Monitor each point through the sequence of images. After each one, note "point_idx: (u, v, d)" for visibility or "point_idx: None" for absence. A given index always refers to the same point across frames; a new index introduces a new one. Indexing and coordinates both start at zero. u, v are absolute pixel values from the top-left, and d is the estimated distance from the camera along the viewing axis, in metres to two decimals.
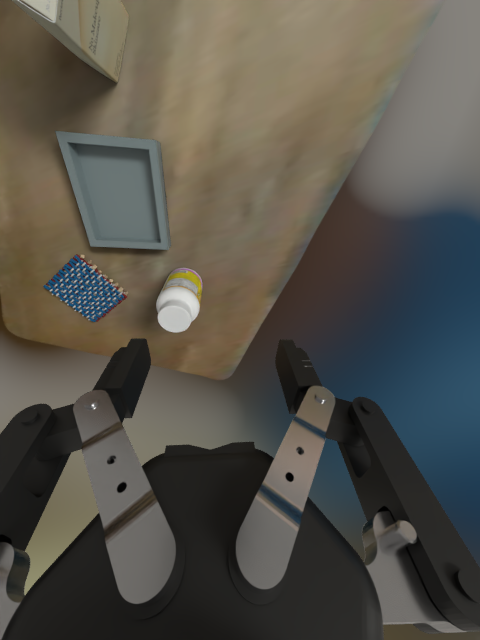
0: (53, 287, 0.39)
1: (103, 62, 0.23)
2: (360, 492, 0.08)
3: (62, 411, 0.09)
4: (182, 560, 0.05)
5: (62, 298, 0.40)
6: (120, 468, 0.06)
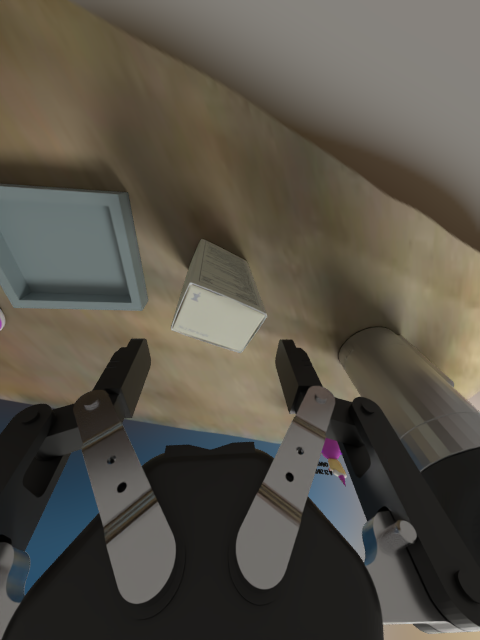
0: None
1: None
2: (360, 492, 0.08)
3: (62, 411, 0.09)
4: (182, 560, 0.05)
5: None
6: (120, 468, 0.06)
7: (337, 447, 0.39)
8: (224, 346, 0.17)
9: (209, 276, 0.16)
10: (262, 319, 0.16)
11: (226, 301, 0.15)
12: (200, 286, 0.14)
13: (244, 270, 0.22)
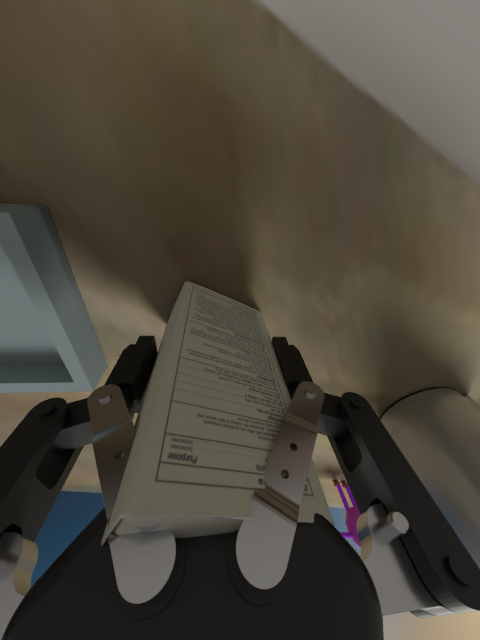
0: None
1: None
2: (352, 485, 0.09)
3: (76, 405, 0.09)
4: (182, 563, 0.05)
5: None
6: None
7: None
8: None
9: (190, 424, 0.07)
10: None
11: (234, 524, 0.05)
12: (156, 514, 0.05)
13: (260, 343, 0.12)
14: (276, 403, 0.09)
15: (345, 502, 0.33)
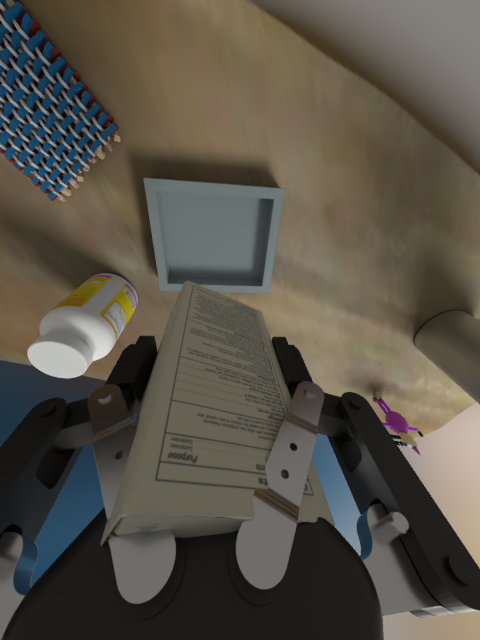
0: (11, 18, 0.16)
1: None
2: (352, 486, 0.09)
3: (76, 405, 0.09)
4: (182, 564, 0.05)
5: None
6: None
7: (406, 422, 0.43)
8: None
9: (190, 423, 0.07)
10: None
11: (234, 523, 0.05)
12: (155, 513, 0.05)
13: (261, 343, 0.12)
14: (276, 403, 0.09)
15: (384, 409, 0.46)
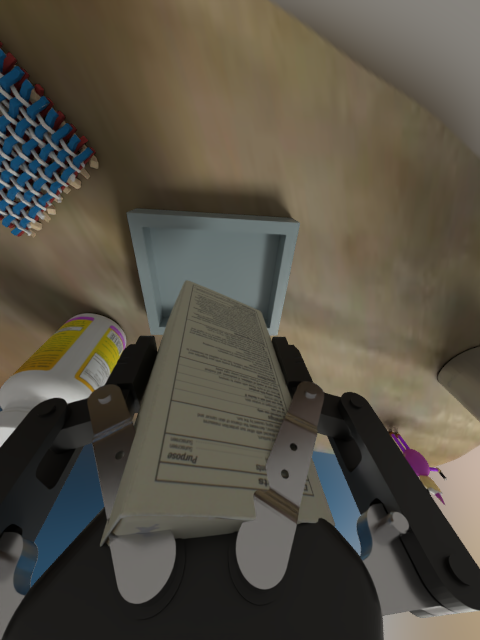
0: None
1: None
2: (352, 485, 0.09)
3: (76, 404, 0.09)
4: (182, 564, 0.05)
5: None
6: None
7: (427, 463, 0.39)
8: None
9: (190, 424, 0.07)
10: None
11: (234, 524, 0.05)
12: (155, 514, 0.05)
13: (261, 343, 0.12)
14: (276, 403, 0.09)
15: (401, 446, 0.42)
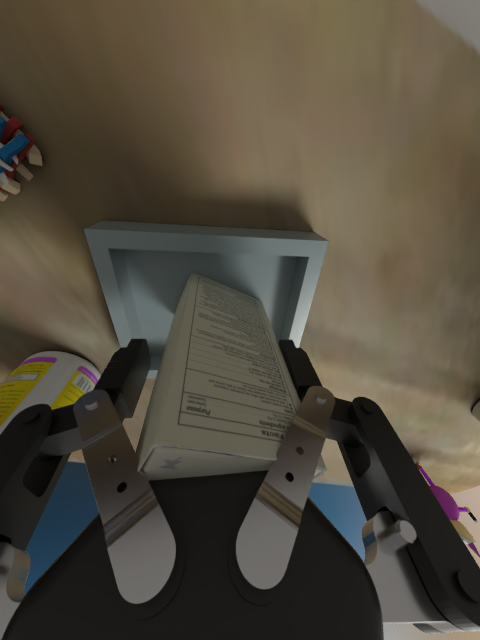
0: None
1: None
2: (360, 492, 0.08)
3: (62, 411, 0.09)
4: (182, 560, 0.05)
5: None
6: (120, 468, 0.06)
7: (456, 505, 0.34)
8: None
9: (203, 386, 0.08)
10: (315, 474, 0.08)
11: (242, 462, 0.07)
12: (179, 447, 0.06)
13: (262, 328, 0.14)
14: (276, 376, 0.10)
15: None
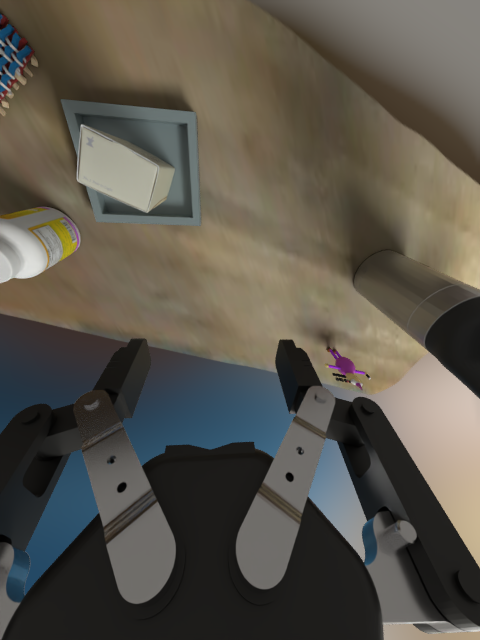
0: None
1: None
2: (360, 492, 0.08)
3: (62, 411, 0.09)
4: (182, 560, 0.05)
5: None
6: (120, 468, 0.06)
7: (352, 364, 0.46)
8: (130, 204, 0.20)
9: (108, 136, 0.19)
10: (156, 171, 0.19)
11: (118, 148, 0.18)
12: (91, 129, 0.17)
13: (161, 161, 0.25)
14: (154, 160, 0.22)
15: (335, 356, 0.49)
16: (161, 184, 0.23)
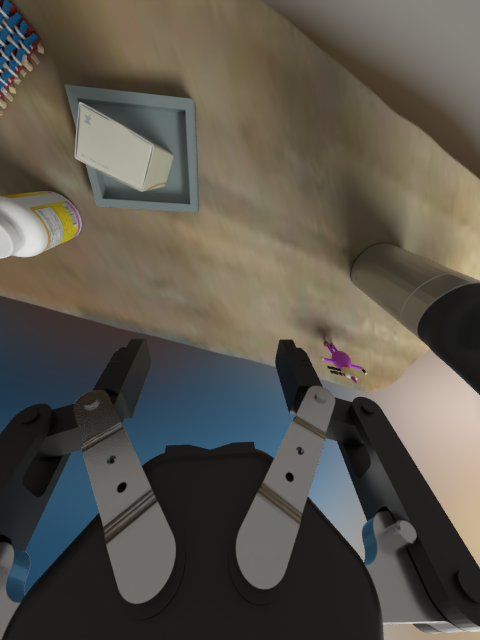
0: None
1: None
2: (360, 492, 0.08)
3: (62, 410, 0.09)
4: (182, 560, 0.05)
5: None
6: (120, 468, 0.06)
7: (348, 358, 0.46)
8: (126, 182, 0.21)
9: (106, 116, 0.20)
10: (150, 150, 0.20)
11: (114, 126, 0.19)
12: (88, 107, 0.18)
13: None
14: (151, 141, 0.22)
15: (331, 350, 0.49)
16: (157, 166, 0.23)
